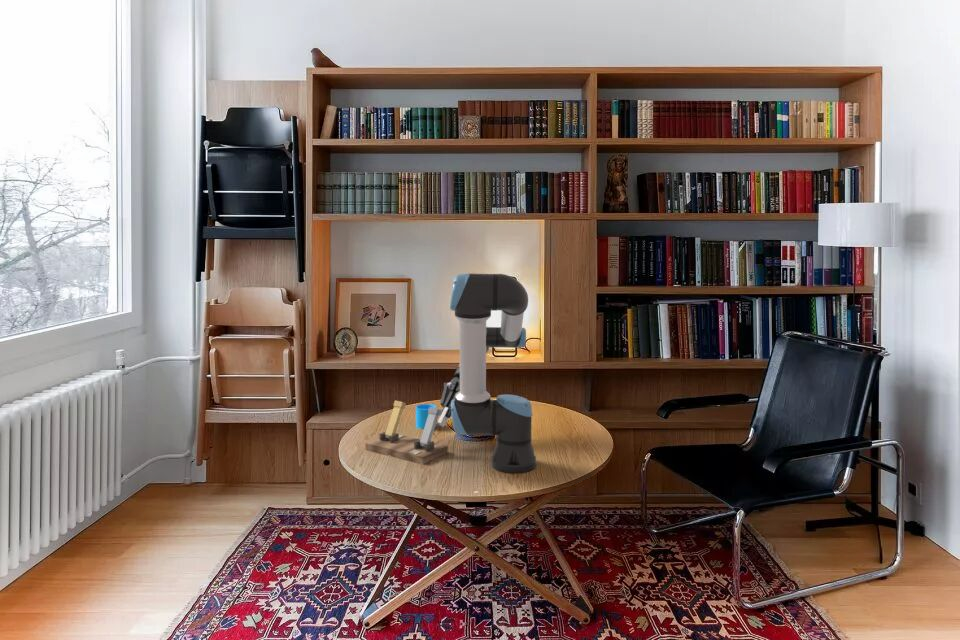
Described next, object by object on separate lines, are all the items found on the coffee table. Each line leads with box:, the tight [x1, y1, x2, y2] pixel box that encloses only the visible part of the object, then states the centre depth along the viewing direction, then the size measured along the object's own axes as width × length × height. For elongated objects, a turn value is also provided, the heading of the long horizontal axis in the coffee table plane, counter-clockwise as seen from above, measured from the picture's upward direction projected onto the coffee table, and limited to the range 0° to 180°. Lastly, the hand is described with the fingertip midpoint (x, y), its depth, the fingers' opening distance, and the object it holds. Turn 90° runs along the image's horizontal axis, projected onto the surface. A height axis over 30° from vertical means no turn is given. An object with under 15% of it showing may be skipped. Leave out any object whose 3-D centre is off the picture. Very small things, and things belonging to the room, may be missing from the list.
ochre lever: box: [385, 400, 407, 439], centre depth 237 cm, size 4×2×14 cm, turn 57°
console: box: [365, 431, 449, 465], centre depth 231 cm, size 26×14×5 cm, turn 57°
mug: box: [415, 403, 437, 430], centre depth 262 cm, size 12×8×8 cm
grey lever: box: [420, 407, 442, 447], centre depth 229 cm, size 4×2×14 cm, turn 57°
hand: (440, 424), depth 235 cm, fingers closed
